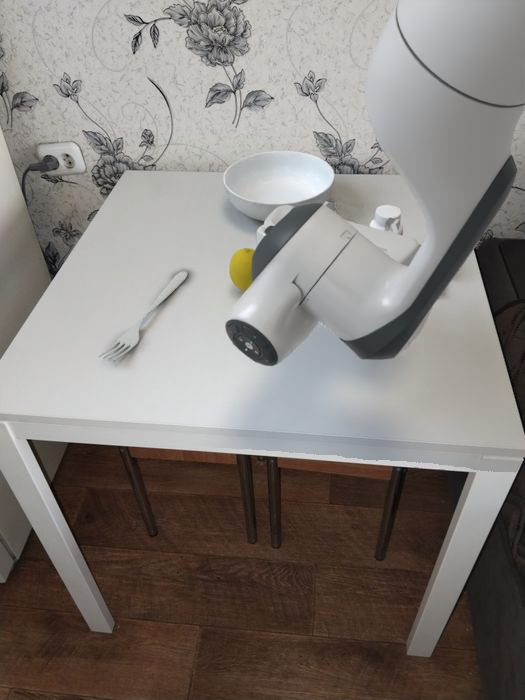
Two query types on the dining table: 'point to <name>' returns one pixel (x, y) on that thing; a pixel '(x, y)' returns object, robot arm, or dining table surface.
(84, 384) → the dining table surface
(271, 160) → the serving bowl
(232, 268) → the lemon
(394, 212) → the pill bottle
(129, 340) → the fork
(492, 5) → the robot arm
